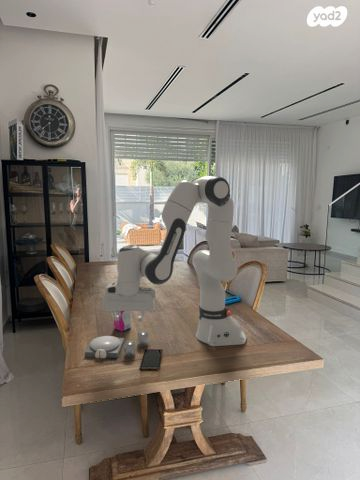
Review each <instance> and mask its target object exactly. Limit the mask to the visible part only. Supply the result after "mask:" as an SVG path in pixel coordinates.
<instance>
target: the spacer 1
mask: <svg viewBox="0 0 360 480" xmlns="http://www.w3.org/2000/svg"><path fill="white" fill-rule="evenodd" d="M123 348H124V349H123V351H124V352H123V353H124V357H125V358H128V359H130V358H134V357H135V356H136V342H135V341H134V340H126V341H124V343H123Z"/></svg>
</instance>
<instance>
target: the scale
mask: <svg viewBox="0 0 360 480" xmlns="http://www.w3.org/2000/svg"><path fill="white" fill-rule="evenodd" d="M124 343H125V338H124V337H117V336H113V335H103V336H97V337H96V336H94V337H93V338H92V339H91V341H90V343H89V345H88V346H87V348H86V349H85V351H84V357H85V358H96V359H106V358H116V359H117V358H118V357H119V355H120V352H121V351H122V348H123V347H124Z"/></svg>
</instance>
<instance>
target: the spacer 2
mask: <svg viewBox="0 0 360 480" xmlns="http://www.w3.org/2000/svg"><path fill="white" fill-rule="evenodd" d="M137 346H138V347H140V348H146V347H148V346H149V333H148V331H145V330H144V331H143V330H142V331H139V332H138V333H137Z"/></svg>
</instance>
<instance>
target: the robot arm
mask: <svg viewBox="0 0 360 480" xmlns="http://www.w3.org/2000/svg"><path fill="white" fill-rule="evenodd" d="M230 193H231V188H230V184H229V182H228V181H227V179H226V178H225V177H222V176H218V175H214V176H213V175H207V176H202V177H201V176H199V177H196V178H194V179H192V180H191V181H190V180H181V181H180V182H178V183H177V185H175V187H174V189H173V190H171V193H170V194H169V197H168V198H167V200H166V202H165V204H164V206H163V209H162V212H161V219H162V222H163V223H164V226H165V228H166V229H165V230H166V233H165V237H164V240H163V241H162V242H163V243H162V244H161V247H160V250H159V252H158V253H154V252H150V251H147V250H145V249H143V248H141V247H140V246H138V245H137V244H132V245H131V244H130V245H125V246H123V247H121V248H120V249H119V250H118V252H117V260H116V261H117V263H116V269H117V278H116V280H117V281H114V282H111V283H108V284H107V285H106V287H105V288H104V292H105V293H104V295H103V296H102V304H101V305H102V307H101V308H102V309H103V310H104V311H111V314H112V316H113V321H114V320H115V321H118V320H119V315H117V314H116V310H118V311H130V312H141V315H138V321H137V322H139V323H142V322H143V321H144V320H143V319H144V318H143V317H144V316H145V314H146V313H147V312H149V313H150V312H151V313H152V312H153V311H154V310H155V305H156V304H155V298H156V291H155V289H153V288H152V287H142V286H141V278H142V277H145V278H146V279H147V280H148V281H149V282H150V283H151V284H154V285H158V286H159V285H163V284H166V282H168V281H169V280H170V278H171V277H172V275H173V272H174V264H175V260H176V256H177V254H178V251H179V248H180V246H181V245H182V244H181V243H182V241H183V239H184V236H185V233H186V229H187V224H188V221H189V219H190V217H191V215H192V212H193V210H194V209H195V207H196V205H197V204H198V203H204V204H207V207H208V214H207V220H206V227H205V234H204V236H205V237H204V239H205V240H206V242H207V244H208V249H201V250H200V249H199V250H198V251H196V252H195V253H194V254H193V256H192V259H191V263H192V266H193V268H194V270H195V272H196V276H197V281H198V284H199V292H200V293H199V296H200V297H199V298H200V299H199V306H198V327H197V330H196V334H195V338H196V339H197V340H198V341H200V342H201V343H205V344H207V345H208V346H210V347H223V346H237V345H245V343H246V342H247V336H246V333H245V332H244V331H243V330H242V329H241V325H240V323H239V322H238V320H237V319H235V318H234V317H232V312H231V310H230V309H229V308H228V306H226V290H225V287H224V285H223V284H222V282H229V281H232V280H234V278H235V277H236V276H237V273H238V264H237V262H236V261H235V259H234V256H233V251H232V243H231V242H232V241H231V237H232V232H233V224H234V216H235V215H234V213H235V211H234V209H235V208H234V207H235V206H234V200H233V199H232V198H231V194H230Z"/></svg>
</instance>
